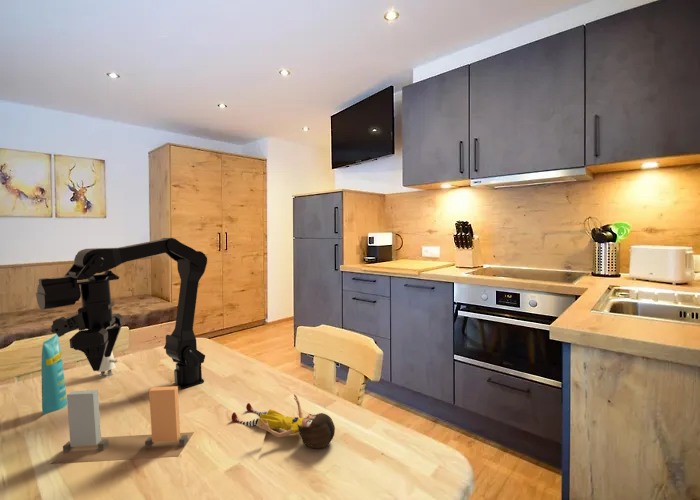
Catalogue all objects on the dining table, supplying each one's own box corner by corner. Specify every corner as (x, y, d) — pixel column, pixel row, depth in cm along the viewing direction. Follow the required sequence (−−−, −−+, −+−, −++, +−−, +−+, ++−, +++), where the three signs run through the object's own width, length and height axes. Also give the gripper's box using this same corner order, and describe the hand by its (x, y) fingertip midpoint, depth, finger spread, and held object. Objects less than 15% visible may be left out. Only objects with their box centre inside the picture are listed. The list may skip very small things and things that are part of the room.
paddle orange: (155, 437, 72) (152, 387, 71) (180, 436, 72) (177, 386, 71) (152, 441, 70) (149, 390, 70) (177, 440, 71) (174, 389, 70)
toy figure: (82, 377, 108) (80, 350, 107) (99, 370, 113) (97, 344, 113) (112, 381, 105) (110, 353, 104) (128, 373, 110) (127, 347, 110)
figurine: (258, 389, 88) (343, 397, 77) (262, 418, 88) (348, 430, 77) (217, 414, 76) (311, 428, 65) (222, 448, 76) (316, 467, 65)
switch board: (80, 442, 74) (79, 432, 74) (194, 436, 76) (193, 426, 75) (50, 468, 66) (49, 456, 66) (178, 461, 68) (177, 449, 67)
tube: (62, 415, 85) (57, 339, 84) (37, 420, 83) (31, 342, 82) (71, 402, 92) (66, 331, 91) (48, 406, 90) (42, 334, 89)
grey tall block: (75, 442, 71) (72, 391, 70) (101, 440, 71) (97, 390, 70) (70, 446, 69) (66, 394, 69) (96, 445, 70) (92, 393, 69)
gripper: (70, 296, 88) (76, 355, 90) (35, 314, 71) (43, 386, 72) (121, 292, 92) (126, 348, 94) (100, 307, 75) (106, 376, 76)
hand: (102, 363), depth 84 cm, fingers open, 9 cm apart
